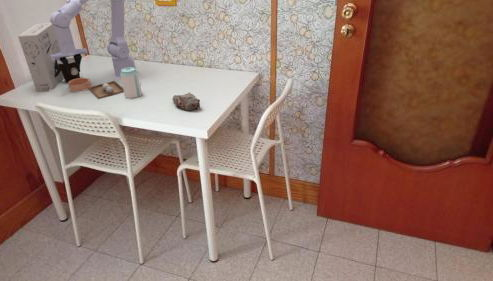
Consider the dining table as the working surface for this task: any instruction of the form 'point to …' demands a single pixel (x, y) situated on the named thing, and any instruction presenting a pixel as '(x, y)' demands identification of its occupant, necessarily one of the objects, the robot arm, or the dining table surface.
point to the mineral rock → (186, 101)
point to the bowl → (79, 84)
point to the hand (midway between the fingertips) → (74, 72)
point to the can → (130, 82)
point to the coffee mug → (72, 64)
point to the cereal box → (42, 55)
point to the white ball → (105, 86)
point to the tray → (102, 93)
